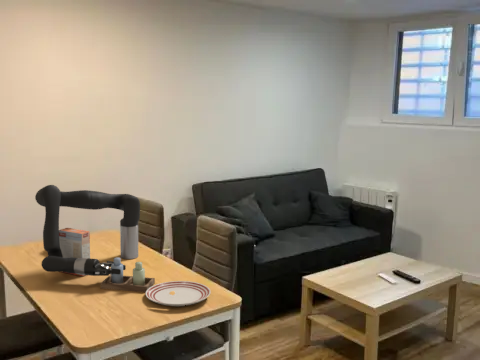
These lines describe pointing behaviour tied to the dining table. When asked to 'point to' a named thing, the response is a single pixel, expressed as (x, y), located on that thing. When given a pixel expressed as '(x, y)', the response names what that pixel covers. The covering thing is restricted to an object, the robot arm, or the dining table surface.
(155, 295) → the dinner plate
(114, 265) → the blue bottle
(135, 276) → the green bottle
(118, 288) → the caddy
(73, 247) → the cracker box
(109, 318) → the dining table surface
